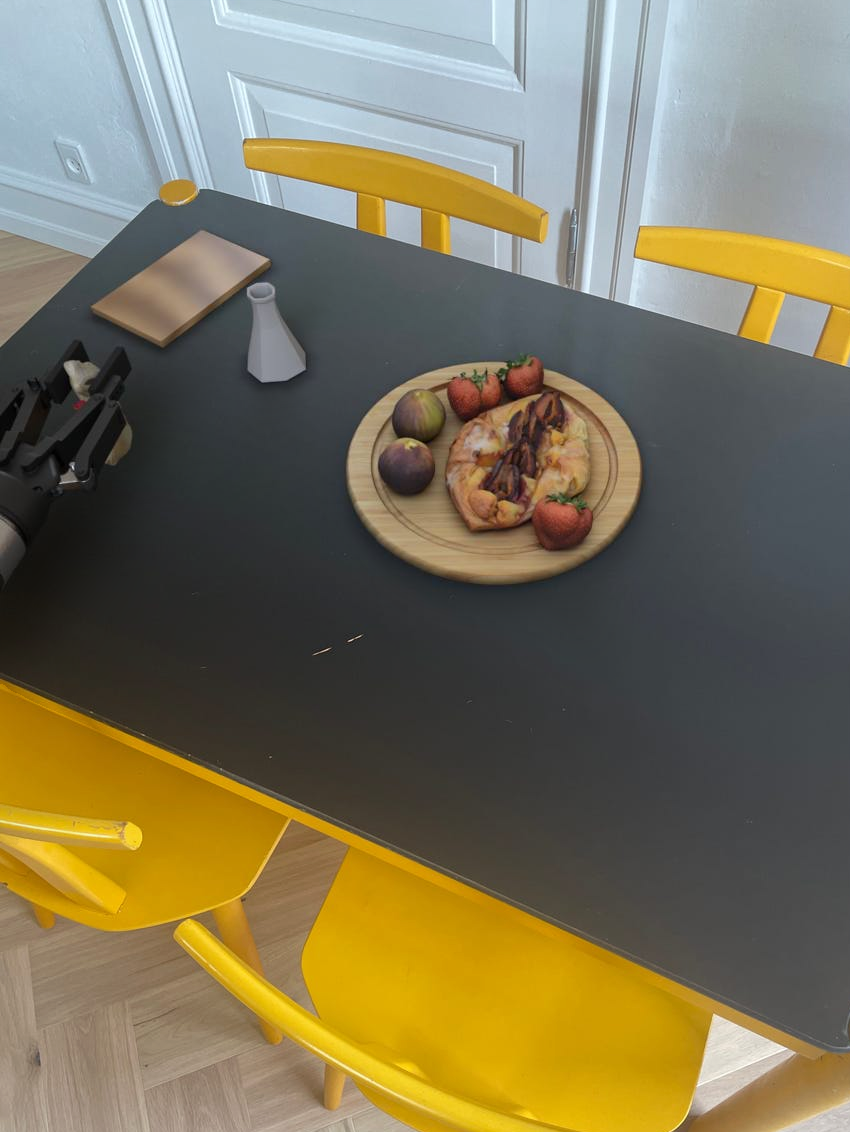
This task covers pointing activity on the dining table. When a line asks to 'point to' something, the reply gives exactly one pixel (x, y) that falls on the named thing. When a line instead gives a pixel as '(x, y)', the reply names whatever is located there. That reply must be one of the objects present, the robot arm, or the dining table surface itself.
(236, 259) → the wooden board
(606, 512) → the wooden plate
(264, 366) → the flask
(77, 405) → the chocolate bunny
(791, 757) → the dining table surface
